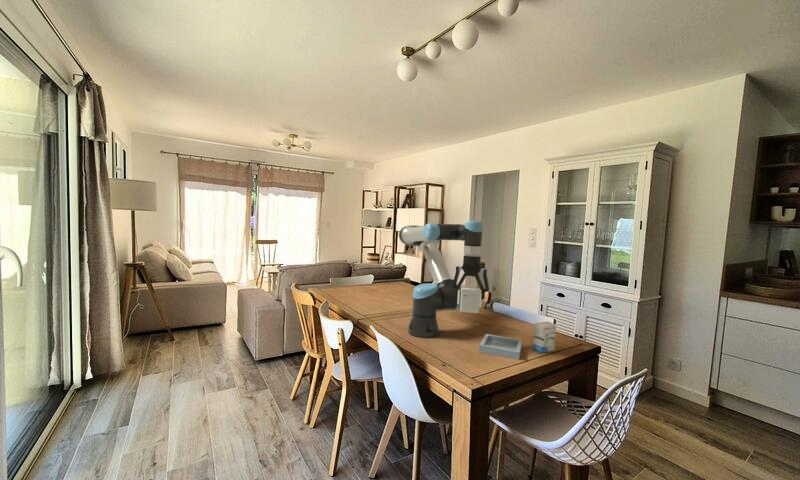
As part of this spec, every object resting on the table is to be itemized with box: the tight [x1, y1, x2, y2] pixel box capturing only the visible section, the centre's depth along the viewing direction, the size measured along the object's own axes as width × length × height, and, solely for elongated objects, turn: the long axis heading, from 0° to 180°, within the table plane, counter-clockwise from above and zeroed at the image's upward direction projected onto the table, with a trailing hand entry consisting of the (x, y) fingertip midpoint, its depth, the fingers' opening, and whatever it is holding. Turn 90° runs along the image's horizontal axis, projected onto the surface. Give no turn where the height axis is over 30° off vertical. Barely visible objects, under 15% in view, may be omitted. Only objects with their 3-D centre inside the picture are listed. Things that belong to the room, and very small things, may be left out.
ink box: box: [532, 321, 557, 354], centre depth 148 cm, size 9×5×12 cm, turn 117°
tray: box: [478, 333, 523, 361], centre depth 147 cm, size 16×16×3 cm
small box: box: [459, 286, 481, 314], centre depth 152 cm, size 8×6×10 cm
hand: (469, 305), depth 152 cm, fingers closed on small box, 9 cm apart
